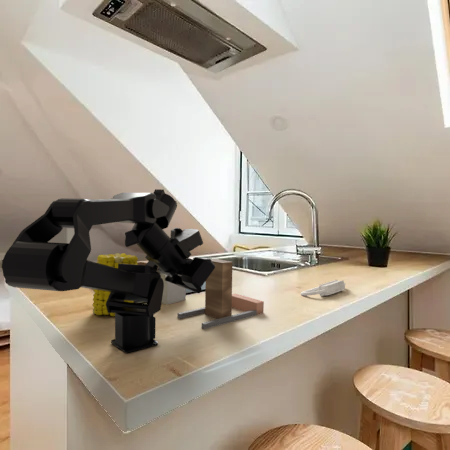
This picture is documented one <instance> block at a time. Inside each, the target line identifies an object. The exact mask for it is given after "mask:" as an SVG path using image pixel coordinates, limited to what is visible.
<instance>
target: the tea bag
mask: <svg viewBox="0 0 450 450" xmlns="http://www.w3.org/2000/svg"><path fill="white" fill-rule="evenodd" d="M159 274H160V275H161V278H162V279H163V282H164V289H163V296H162V303H161V304H162V305H167V306H168V305H171V304H174V303H179V302H182V301H185V300H186V298H187V297H186V295H187V294H186V292H187V291H186V290H187V289H186V288H183V287H180V286H178V285H175V284H173V283H170V282H167V281H165V278H166V277H167V276H166V275H165V274H162V273H160V272H159Z"/></svg>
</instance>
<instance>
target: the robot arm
mask: <svg viewBox="0 0 450 450" xmlns="http://www.w3.org/2000/svg"><path fill="white" fill-rule="evenodd" d="M177 207H178V202H177V201H176V200H175V199H174V198H173V196H171V195H170V194H168V193H166V192H165V189H164V188H163V189H157V188H156V189H154V190H153V192H121V193H117V194H115V195H113V196H112V198H101V199H100V198H99V199H96V198H94V199H93V198H91V199H86V198H65V197H64V198H58V199H56V200H52V202H51V203H50V204H49V206H48V207H47V209H46V211H44V214H42V215H41V216H39V217H38V218H37V219H35V220H34V221H33V222H31V224H29V225H27V226H26V227H25V228H23V229H22V230H21V231H20V232H19V234H18V235H17V237H16V239H14V241H13V243H12V244H11V245H10V247H9V248H8V249H7V251H6V252H5V254H4V257H3V259H2V262H1V269H2V274H3V277H4V279H5V280H4V282H5V284H6V285H7V286H9V287H12V288H15V289H17V288H19V289H29V290H41V291H51V292H52V291H54V292H67V291H74V290H75V291H76V290H79V289H80V288H84V289H89V290H94V289H96V290H102V291H109V292H111V293H110V295H109V297H108V300H107V302H106V307H107V311H108V313H115V316H114V339H111V341H110V343H111V344H112V345H113V346H115V347H116V348H118V349H119V350H121V352H123V353H125V354H130V353H134V352H137V351H139V350H140V351H141V350H143V349H144V350H145V349H148V348H151V347H154V346H157V345H159V342H158V340H155V338H156V321H157V320H156V317H155V314H156V313H158V312H160V311H161V309H162V308H161V307H162V304H163V303H162V296H163V289H164V282H163V279H162V278H161V275H160V273H162V274H165V275H166V276H167V277H166V278H165V281H167V282H170V283H173V284H175V285H178V286H180V287H183V288H186V290H188V291H191V292H193V293H196V294H200V293H201V292H202V291H203V289H202V287H203V285H204V284H206V280H207V278H208V277H209V276H210V274H211V273H212V271H213V270H214V269H215V264H214V263H213V262H212V260H211V259H212V258H207V257H202V256H196V257H194V258H190V257H191V256H192V253H191V251H193V250H194V249H196V248H198V247H199V246H202V245H203V244H204V242H203V238H202V235H201V232H200V230H199V229H197V228H196V229H195V228H187V229H186V228H185V229H183V230H182V228H179V227H174V228H172V229H171V230H170V236H169V235H168V234H167V233H166V231H165V229H167V228H168V227H169V225H170V224H171V221H172V218H173V217H174V215H175V212H176V210H177ZM112 223H121V224H133V225H132V228H131V229H130V230H128V231H125V233H124V236H125V239H124V246H125V247H126V248H129V247H131V246H135V245H136V246H138V247H139V249H140V250H141V251H142V252H143V253H144V254H145V259H146V260H147V262H146V263H145V264H138V265H133V264H118V269H117V268H114V267H110V266H106V265H103V264H99V263H97V261H91V260H88V257H89V256H90V254H91V252H92V244H91V237H90V232H91V229H92V228H93V226H96V225H97V226H99V225H104V224H105V225H106V224H112ZM67 228H68V229H74V230H73V231H74V233H73V236H72V238H71V240H70V242H69V243H65V242H49V241H51V240H52V239H53V238H55V237H56V236H57V235H58V234H60V233H61V231H62V230H63V229H67ZM124 300H129V301H134V302H133V303H132V302H124ZM138 302H139V303H138Z"/></svg>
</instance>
